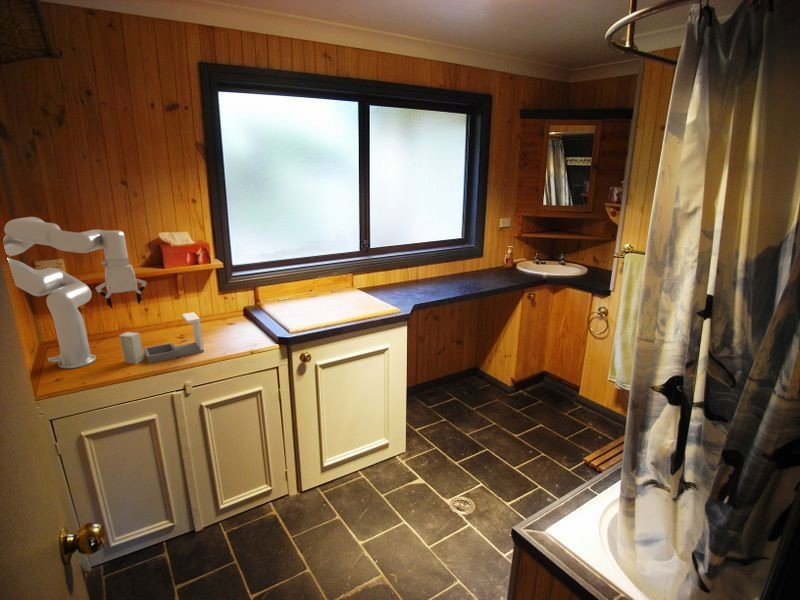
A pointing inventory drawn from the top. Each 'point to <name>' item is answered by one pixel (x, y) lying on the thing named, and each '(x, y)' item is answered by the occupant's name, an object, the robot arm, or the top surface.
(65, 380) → the top surface
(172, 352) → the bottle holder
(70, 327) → the robot arm
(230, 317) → the top surface
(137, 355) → the skincare box
